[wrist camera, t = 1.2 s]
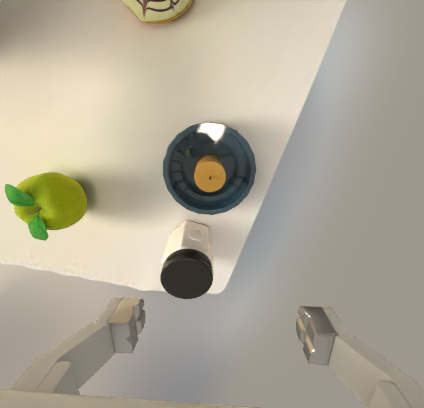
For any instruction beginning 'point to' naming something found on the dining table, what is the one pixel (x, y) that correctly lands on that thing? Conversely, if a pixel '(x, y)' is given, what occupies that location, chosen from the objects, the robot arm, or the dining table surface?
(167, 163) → the bowl
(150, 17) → the decorated donut
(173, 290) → the jar
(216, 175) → the candle
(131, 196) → the dining table surface
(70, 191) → the fruit
